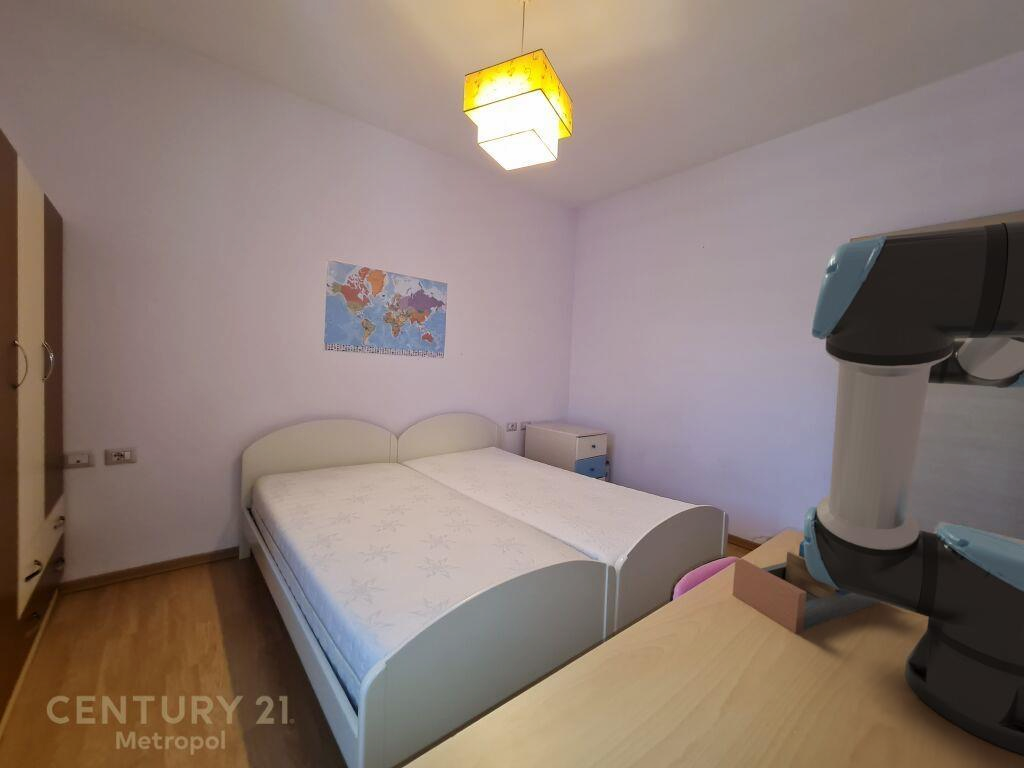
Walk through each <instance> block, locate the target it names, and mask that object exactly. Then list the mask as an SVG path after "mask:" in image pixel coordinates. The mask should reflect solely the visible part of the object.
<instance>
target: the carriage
mask: <svg viewBox="0 0 1024 768" xmlns="http://www.w3.org/2000/svg"><path fill="white" fill-rule="evenodd" d="M785 580H786V581H788V582H790V583H792V584H793V585H795V586H797V587H799V588H801V589H803V590H805V591H807V592H809V593H811V594H813V595H815V596H817V597H819V598H820V597H823V596H826V595H829V594H832V593H835V592H838V591H841V590H840V589H839V590H838V589H837V588H835V587H833V586H830V585H828V584H825V583H823V582H820V581H818V580H816V579H815V578H813V577H812V576H811V574H810V573H809V571H808V569H807V566H806V561H805V558H803V557H801V556H799V554H797V553H795V552H792V551H787V553H786V572H785Z"/></svg>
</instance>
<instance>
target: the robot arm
mask: <svg viewBox="0 0 1024 768" xmlns="http://www.w3.org/2000/svg"><path fill="white" fill-rule="evenodd" d="M827 259H828V260H827V263H826V266H825V270H824V273H823V277H822V280H821V284H820V289H819V292H818V297H817V301H816V307H815V311H814V315H813V320H812V321H813V322H812V331H811V335H812V337H814V338H817V339H819V340H825V352H826V354H827V355H828V356H829V357H830V358H831V359H833V360H834V361H836V362H838V364H839V365H838V377H837V388H836V389H837V390H836V392H837V393H836V406H835V416H834V417H835V420H834V433H833V446H832V462H831V475H830V477H831V478H830V490H829V495H826V496H824V497H823V498H822V499H821V500H819V502H818V504H817V506H811V507H809V508H807V510H806V513H805V518H804V526H803V540H804V555H805V561H806V566H807V569H808V571H809V573H810V574H811V576H812V577H813V578H815V579H816V580H818V581H820V582H823V583H825V584H828V585H830V586H833V587H835V588H837V589H838V590H839V589H840V590H843V591H847V592H851V593H854V594H857V595H860V596H863V597H867V598H870V599H873V600H876V601H879V602H880V603H883V604H887V605H890V606H893V607H895V608H899V609H903V610H905V611H909V612H912V613H915V614H919V615H922V616H924V617H928V621H927V628H926V631H925V632H924V633H923V635H922V636H921V637H920V639H919V641H918V642H917V643H916V644H915V646H914V647H913V649H912V650H911V651H910V653H909V654H908V656H907V658H906V660H905V669H904V679H905V681H906V683H907V685H908V686H909V688H910V689H911V690H912V692H913V693H915V695H916V696H917V697H918V698H919V699H920V700H921V701H922V702H924V703H925V704H926V705H927V706H929V707H930V708H931V709H932V710H933V711H935V712H936V713H938V714H939V715H941V716H942V717H943V718H945V719H946V720H949V722H951V723H953V724H955V725H956V726H957V727H960V728H962V729H963V730H965V731H967V732H969V733H971V734H972V735H975V736H976V737H978V738H980V739H983V740H984V741H987V742H989V743H992V744H994V745H996V746H998V747H1001V748H1003V749H1006V750H1010V751H1012V752H1015V753H1017V754H1021V755H1024V543H1023V544H1022V543H1020V542H1017V541H1015V540H1013V539H1009V538H1007V537H1004V536H1001V535H998V534H996V533H995V534H994V533H991V532H987V531H984V530H980V529H977V528H973V527H968V526H964V525H955V524H947V523H946V524H941V525H940V526H939V527H938V528H937V529H936V533H934V532H929V531H926V530H925V531H924V530H921V529H920V526H919V522H918V521H917V520H916V518H915V517H914V516H913V515H912V514H911V512H909V511H908V509H909V502H910V497H911V496H910V495H911V490H912V483H913V478H914V472H915V466H916V459H917V453H918V447H919V441H920V436H921V428H922V422H923V416H924V410H925V405H926V400H927V392H928V385H929V384H943V385H945V384H947V385H962V386H977V387H995V388H997V389H1007V388H1008V389H1009V388H1024V219H1023V220H1015V221H1007V222H1001V223H995V224H989V225H988V224H987V225H977V226H969V227H960V228H949V229H940V230H932V231H922V232H913V233H903V234H896V235H895V234H894V235H893V234H892V235H880V236H878V237H874V238H868V239H862V240H858V241H857V240H856V241H851V242H846V243H843V244H841V245H839V246H838V247H836V248H835V249H834V250H833V251H832V252H831V253H830V255H829V257H828V258H827ZM955 339H966V340H955Z"/></svg>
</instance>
